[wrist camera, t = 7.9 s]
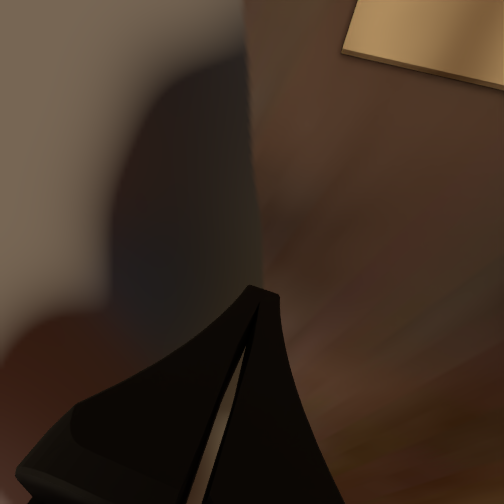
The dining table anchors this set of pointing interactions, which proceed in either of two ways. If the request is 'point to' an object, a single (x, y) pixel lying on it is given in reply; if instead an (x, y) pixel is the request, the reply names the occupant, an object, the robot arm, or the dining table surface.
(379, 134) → the dining table surface
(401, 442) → the dining table surface
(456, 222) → the dining table surface
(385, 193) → the dining table surface
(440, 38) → the board
